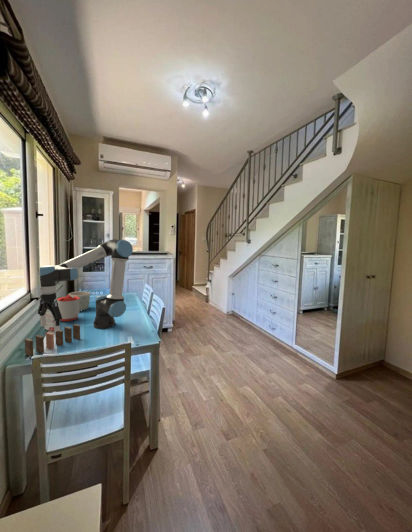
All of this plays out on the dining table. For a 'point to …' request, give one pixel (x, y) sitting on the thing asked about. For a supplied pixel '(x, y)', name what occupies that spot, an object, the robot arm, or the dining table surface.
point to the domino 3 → (49, 340)
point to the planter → (82, 299)
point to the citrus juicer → (68, 307)
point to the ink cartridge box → (49, 321)
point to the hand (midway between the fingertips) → (50, 328)
